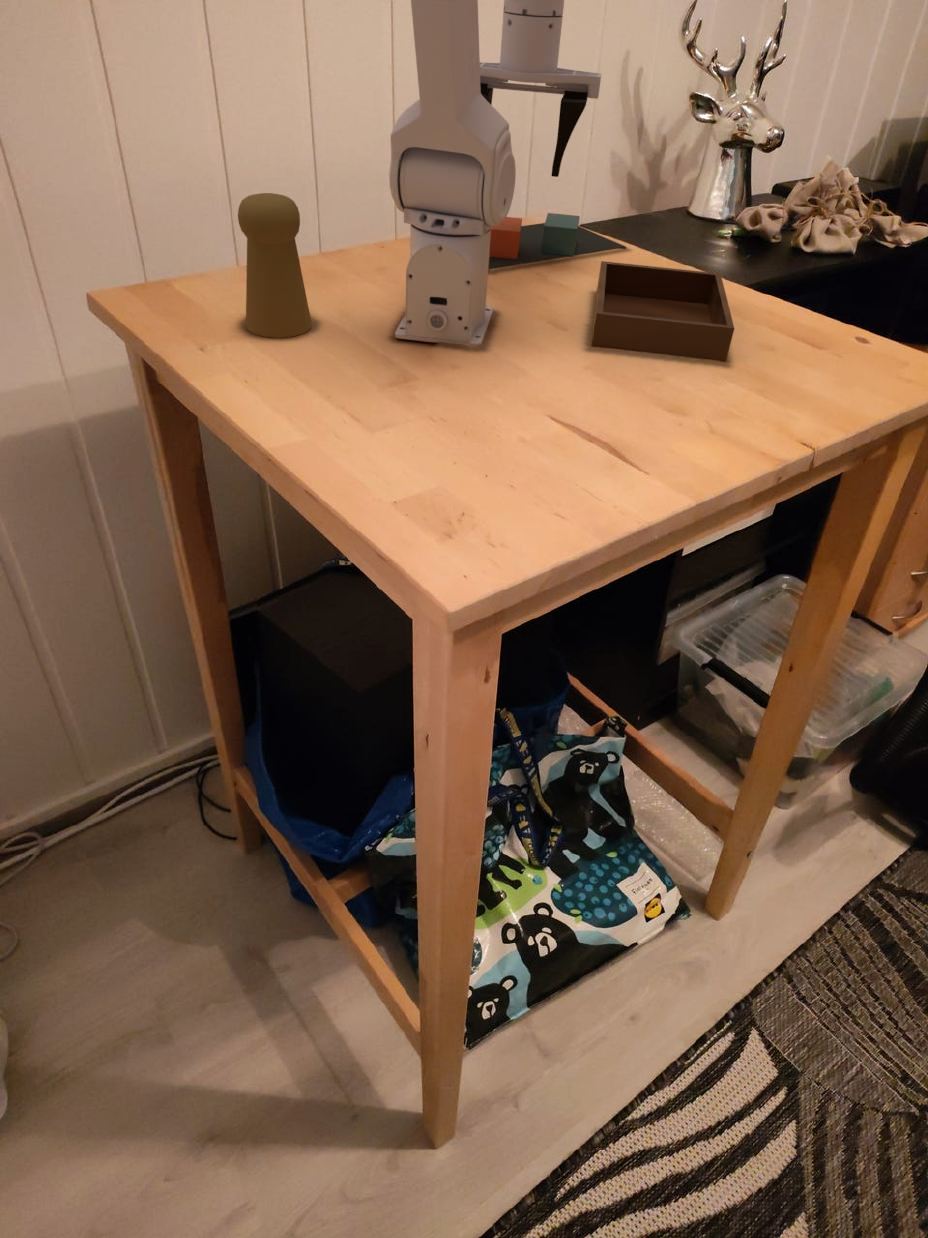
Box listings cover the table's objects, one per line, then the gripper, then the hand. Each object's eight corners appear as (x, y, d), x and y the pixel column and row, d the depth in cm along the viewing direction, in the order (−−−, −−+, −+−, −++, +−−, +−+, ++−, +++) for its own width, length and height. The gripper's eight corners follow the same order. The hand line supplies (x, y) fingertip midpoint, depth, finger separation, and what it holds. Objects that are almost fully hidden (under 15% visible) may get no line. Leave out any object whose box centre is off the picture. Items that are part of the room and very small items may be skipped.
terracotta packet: (517, 259, 94) (520, 231, 92) (484, 256, 94) (486, 228, 92) (519, 244, 98) (522, 217, 97) (487, 242, 99) (489, 215, 97)
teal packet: (573, 256, 96) (577, 228, 94) (541, 252, 97) (544, 225, 95) (576, 242, 100) (579, 215, 99) (544, 239, 101) (547, 212, 99)
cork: (306, 339, 75) (296, 207, 68) (238, 335, 75) (222, 202, 68) (316, 314, 80) (309, 188, 72) (253, 310, 79) (239, 184, 72)
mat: (625, 250, 100) (626, 246, 100) (490, 272, 92) (490, 268, 91) (564, 223, 108) (564, 219, 108) (433, 241, 99) (433, 237, 99)
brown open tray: (724, 365, 76) (734, 328, 73) (590, 349, 77) (596, 313, 74) (712, 306, 87) (720, 273, 85) (596, 293, 88) (601, 260, 86)
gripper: (609, 16, 82) (588, 168, 91) (464, 4, 83) (458, 156, 92) (608, 22, 77) (586, 184, 86) (453, 10, 78) (447, 170, 87)
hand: (519, 170), depth 88 cm, fingers open, 7 cm apart
